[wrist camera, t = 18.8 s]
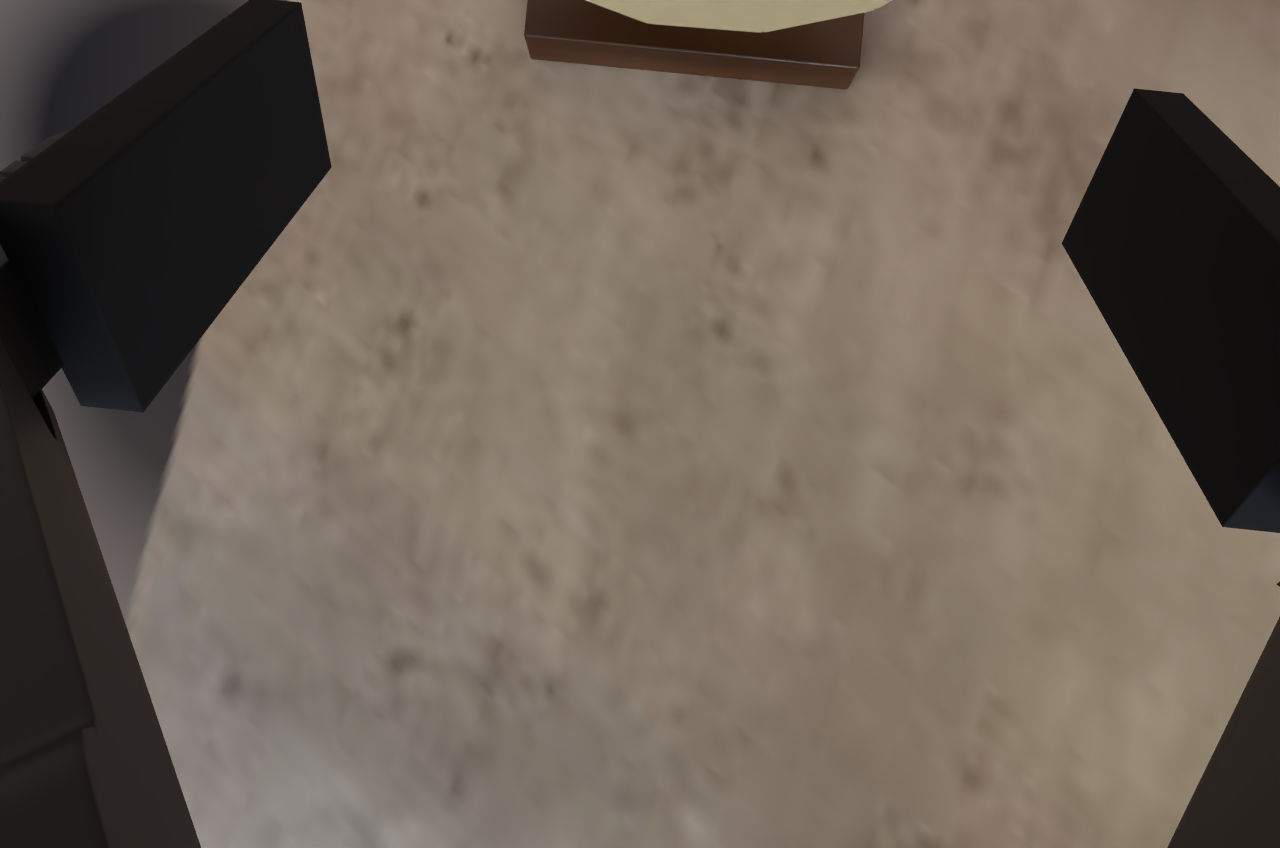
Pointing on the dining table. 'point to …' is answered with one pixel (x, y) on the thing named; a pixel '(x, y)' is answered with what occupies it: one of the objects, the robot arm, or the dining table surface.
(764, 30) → the tape roll
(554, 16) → the tape stand
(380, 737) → the dining table surface
